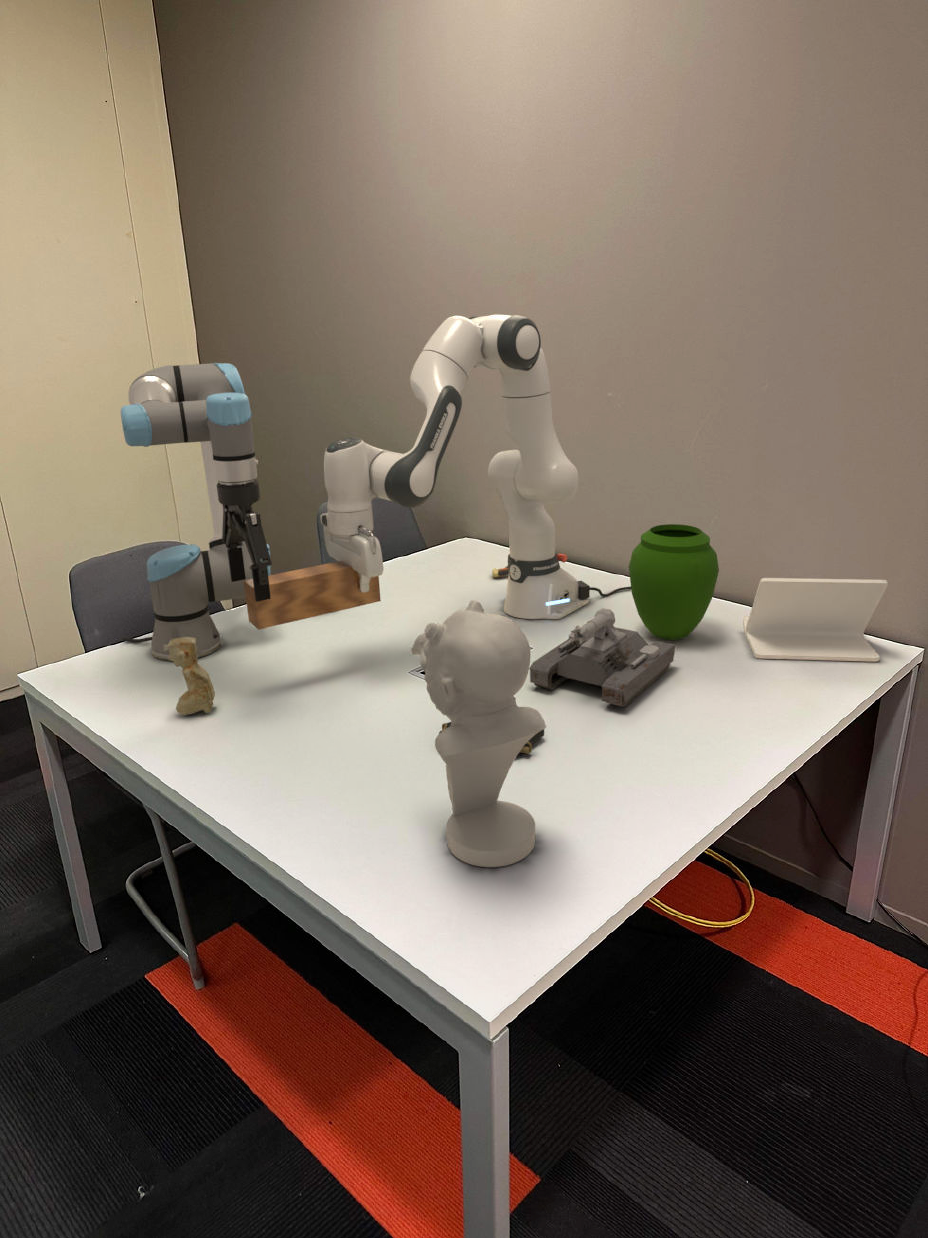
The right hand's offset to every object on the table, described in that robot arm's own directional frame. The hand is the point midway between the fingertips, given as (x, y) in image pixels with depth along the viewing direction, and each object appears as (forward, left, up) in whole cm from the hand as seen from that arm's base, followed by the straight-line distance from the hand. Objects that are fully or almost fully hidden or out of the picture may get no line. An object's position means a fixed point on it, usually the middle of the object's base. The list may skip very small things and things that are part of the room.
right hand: (356, 586), depth 176 cm
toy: (-32, +39, -18) cm, 54 cm away
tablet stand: (-78, +58, -18) cm, 99 cm away
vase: (-61, +34, -18) cm, 72 cm away
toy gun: (-71, -27, -18) cm, 78 cm away
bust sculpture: (+23, +61, -18) cm, 67 cm away
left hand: (+22, -4, +4) cm, 22 cm away
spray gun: (+1, +43, -18) cm, 46 cm away
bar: (+9, -1, -3) cm, 10 cm away
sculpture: (+35, -5, -18) cm, 40 cm away
